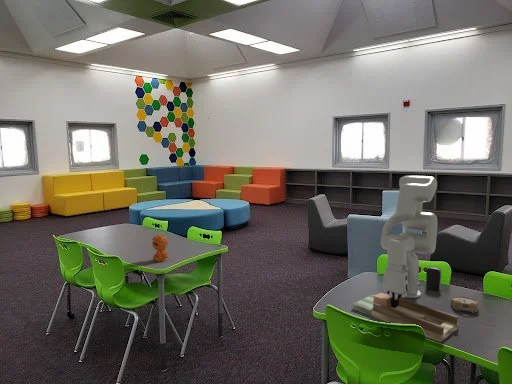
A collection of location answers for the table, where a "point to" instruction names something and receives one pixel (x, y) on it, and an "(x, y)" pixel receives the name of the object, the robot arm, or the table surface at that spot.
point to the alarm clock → (464, 303)
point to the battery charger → (433, 278)
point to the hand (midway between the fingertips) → (394, 306)
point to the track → (412, 316)
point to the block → (382, 300)
